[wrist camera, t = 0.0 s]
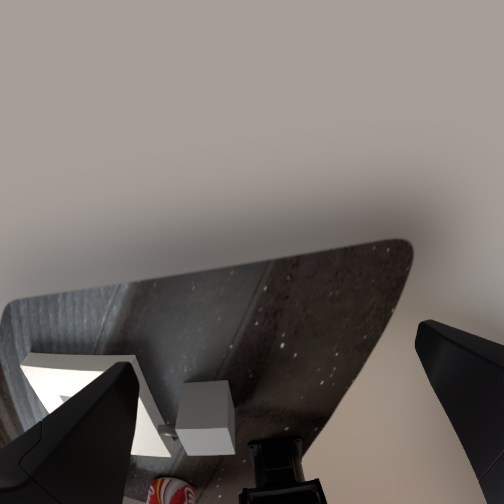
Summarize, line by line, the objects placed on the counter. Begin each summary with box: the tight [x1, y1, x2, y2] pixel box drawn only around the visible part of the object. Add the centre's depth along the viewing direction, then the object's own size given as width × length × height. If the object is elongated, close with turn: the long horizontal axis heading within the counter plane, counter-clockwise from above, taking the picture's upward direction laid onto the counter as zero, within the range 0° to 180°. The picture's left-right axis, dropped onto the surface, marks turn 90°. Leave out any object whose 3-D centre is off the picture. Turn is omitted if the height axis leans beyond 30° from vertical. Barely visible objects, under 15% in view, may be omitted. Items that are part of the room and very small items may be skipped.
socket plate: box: [20, 353, 174, 457], centre depth 26 cm, size 14×14×3 cm
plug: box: [158, 380, 235, 455], centre depth 24 cm, size 4×7×6 cm, turn 96°
